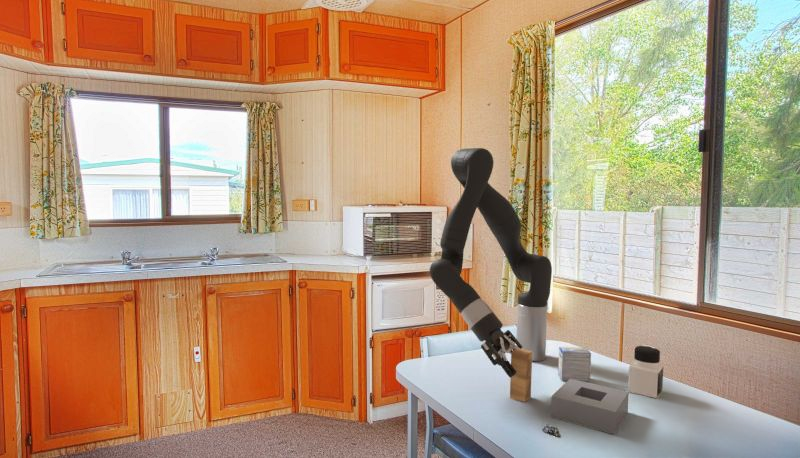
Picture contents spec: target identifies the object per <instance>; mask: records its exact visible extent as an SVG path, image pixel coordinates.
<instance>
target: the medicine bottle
mask: <svg viewBox="0 0 800 458" xmlns="http://www.w3.org/2000/svg"><path fill="white" fill-rule="evenodd" d="M660 356H661V352H660V350H659V349H658V348H656V347H655V346H651V345H645V344H644V345H636V346H635V347H634V355H633V357H634V360H633V362H632V363H630V365H629V367H628V368H629V369H628V382H627V383H628V384H627V385H628V386H627V392H629V393H632V394H637V395H640V396H645V397H649V398H654V399H658V398H659V396H660V395H661V393H662V391H663V381H664V365H663V364H660V362H661V361H660V360H661V359H660V358H661V357H660Z"/></svg>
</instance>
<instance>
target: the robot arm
mask: <svg viewBox="0 0 800 458" xmlns="http://www.w3.org/2000/svg"><path fill="white" fill-rule="evenodd" d="M450 166H451V170H452V173H453V175H454V177H455V179H456V180H457V181H458V182H459V183H460V185H461V186H462V187H463V191H462V193H461V196H460V197H459V199H458V201H457V202H456V203H455V205H454V206H453V208H452V210H451V211H450V212H449V214H448V215H447V218H446V221H445V222H444V226H443V229H442V234H441V238H440V242H439V243H440V244H439V245H440V248H441V255H440V256H441V257H440V258H439V259H436V260H434V261H433V262H432V263H431V264H430V267H429V276H430V278H431V281H432V282H433V283H434V284H435V285H436V287H438V288H439V290H440V291H441V292H442V293H443V294H444V295H445V296H446V297H448V298H449V300H450V301H451V302H452V304H453V306H454V307H455V308H456V310H457V311H458V312H459V314H460V315H461V317H462V318H463V321H464V322H465V323H466V324H467V326H468V328H470V330H471V331H472V333H473V334H474V335H475V336H476V338H477V339H478V340H479V341H480V342H483V343H482V344H481V345H480V348H481V349H482V350H483V351H482V352H484V354H485V355H486V356H487V358H488V359H489V361H490V362H491V364H492V365H493V366H496V365H498V366H499V367H501V368H502V370H503V371H504V372H505V374H506V375H507V376H508V378H511V377H512V376H514V375H515V374H516V370H515V369H514V368H513V366H512V365H511V362H510V361H509V360H508V359H507V356H506V354H509V355H511V352H512V351H514V350H516V349H517V348H518V349H523V350H528V351H532V362H540V361H544V360H545V359H546V353H547V352H546V349H547V347H546V346H547V327H548V326H547V324H548V323H547V322H548V301H549V299H550V298H549V297H550V294H551V284H552V283H551V282H552V273H553V270H552V269H553V268H552V263H551V260H550V259H549V258H548V256H544V255H541V254H540V255H539V254H533V253H529V252H527V250H526V249H525V247H524V246H523V243H522V242H521V233H522V222H521V219H520V217H519V215H518V214H517V212H516V210H515V208H514V206H513V205H512V204H511V202H510V201H509V200H508V199H507V198H506V197H504V195H503V194H501V193H500V192H499V191H497V190H496V189H495V188H494V187H493V186H492V185H491V184H490V183H489V181H490V177H491V176H492V173H493V169H494V158H493V155H492V153H491V152H490V151H489V150H488V149H487V148H483V147H482V148H481V147H474V148H470V147H469V148H461V149H458V150H456V151H455V152H454V153H453V154H452V156H451V160H450ZM476 210H478V211H479V213H480V215H481V216H482V217H483V219H484V221H485V223H486V224H487V225H486V226H488V228H489V230H490V232H491V233H492V235H493V236H494V237H495V240H496V241H497V243H498V245H499V246H500V248H501V250H502V251H503V252H504V255H505V257H506V259H507V262H508V264H509V266H510V268H511V271H512V273H513V274H514V276H515V277H516V278H517V280H519V281H520V282H523V283H530V284H529V288H528V289H529V290H527V292H521V293H519V294H518V295H517V308H516V309H517V310H516V311H517V312H516V313H517V314H516V337H515V336H514V333H512V332H511V330H509V329H507V330H506V331H504V332H503V330H502V328H503V326H504V324H503V323H502V321H501V320H500V319H499V318H498V316H497V315H496V314H495V312H494V311H493V310H492V308H490V306H489V304H488V303H486V302H485V301H484V300H483V299H482V297H481V296H480V295H479V294H478V292H477V291H476V290H475V288H474V287H473V286H472V285H471V284H470V283H468V282H466V281H465V280H464V279H463V277H462V276H461V274H462V272H463V270H462V269H463V263H464V252H465V251H464V250H465V246H466V243H467V239H468V236H469V232H470V227H471V224H472V222H473V219H474V215H475V213H476Z"/></svg>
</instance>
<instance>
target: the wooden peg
mask: <svg viewBox="0 0 800 458" xmlns="http://www.w3.org/2000/svg"><path fill="white" fill-rule="evenodd" d="M510 364H511V365H512V366H513V368H514V369H515V370H516V374H515V375H514V376H512V377H509V378H510V379H509V380H510V381H509V382H510V385H509V386H510V387H509V399H511V400H515V401H518V402H522V401H523V403H526V402H527V401H528V400H529V399H530V398H531V397H532V372H533V371H532V368H533V361H532V351H528V350H523V349H518V348H517V349H516V350H514V351H513V350H512V352H511V354H510ZM525 401H526V402H525Z"/></svg>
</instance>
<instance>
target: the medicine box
mask: <svg viewBox="0 0 800 458" xmlns="http://www.w3.org/2000/svg"><path fill="white" fill-rule="evenodd" d="M591 358H592V353H591V351H590V350H589V349H588V348H587V347H574V346H570V347H569V346H559V348H558V371H557V372H558V374H557V375H558V377H559V379H560V381H562V382H567V381H568V380H569V379H575V380H579V381H583V382H588V383H591V382H590V381H591V362H592V359H591Z"/></svg>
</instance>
